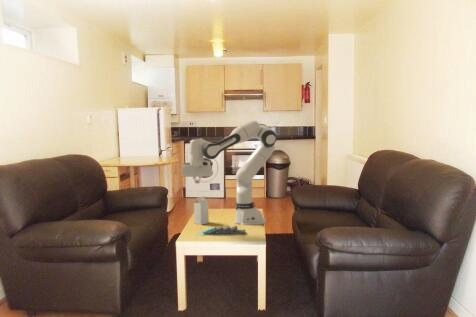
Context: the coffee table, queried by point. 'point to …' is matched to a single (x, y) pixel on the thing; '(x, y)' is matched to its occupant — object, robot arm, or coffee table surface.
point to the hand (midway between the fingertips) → (197, 183)
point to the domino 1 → (209, 230)
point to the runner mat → (214, 233)
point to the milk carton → (201, 211)
